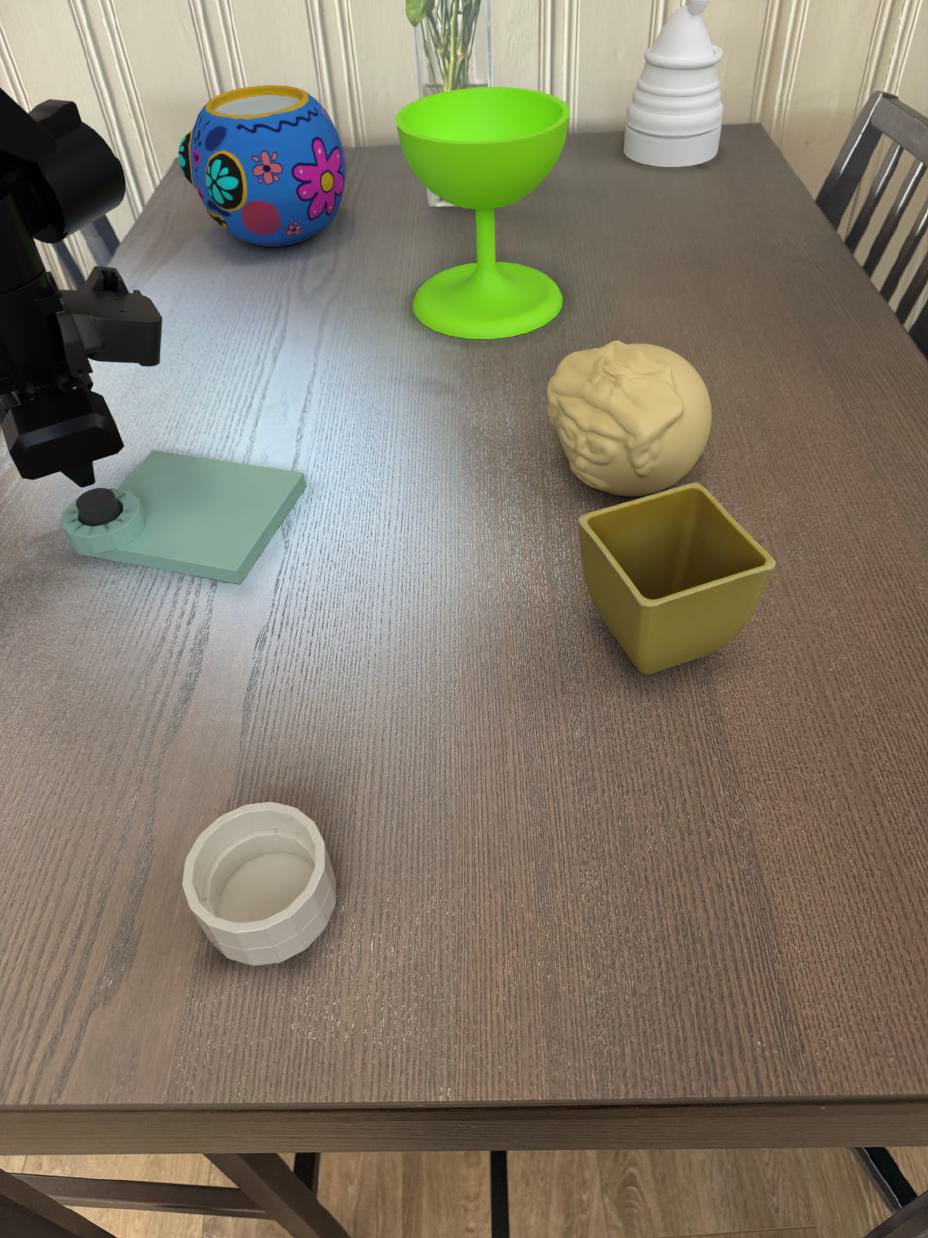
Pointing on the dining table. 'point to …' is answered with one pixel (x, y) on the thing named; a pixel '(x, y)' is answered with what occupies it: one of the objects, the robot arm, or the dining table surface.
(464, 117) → the wineglass
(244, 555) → the scale
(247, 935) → the bowl
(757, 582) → the flower pot
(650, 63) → the honey pot
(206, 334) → the dining table surface
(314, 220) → the ceramic pot
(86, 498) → the button
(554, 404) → the sculpture
